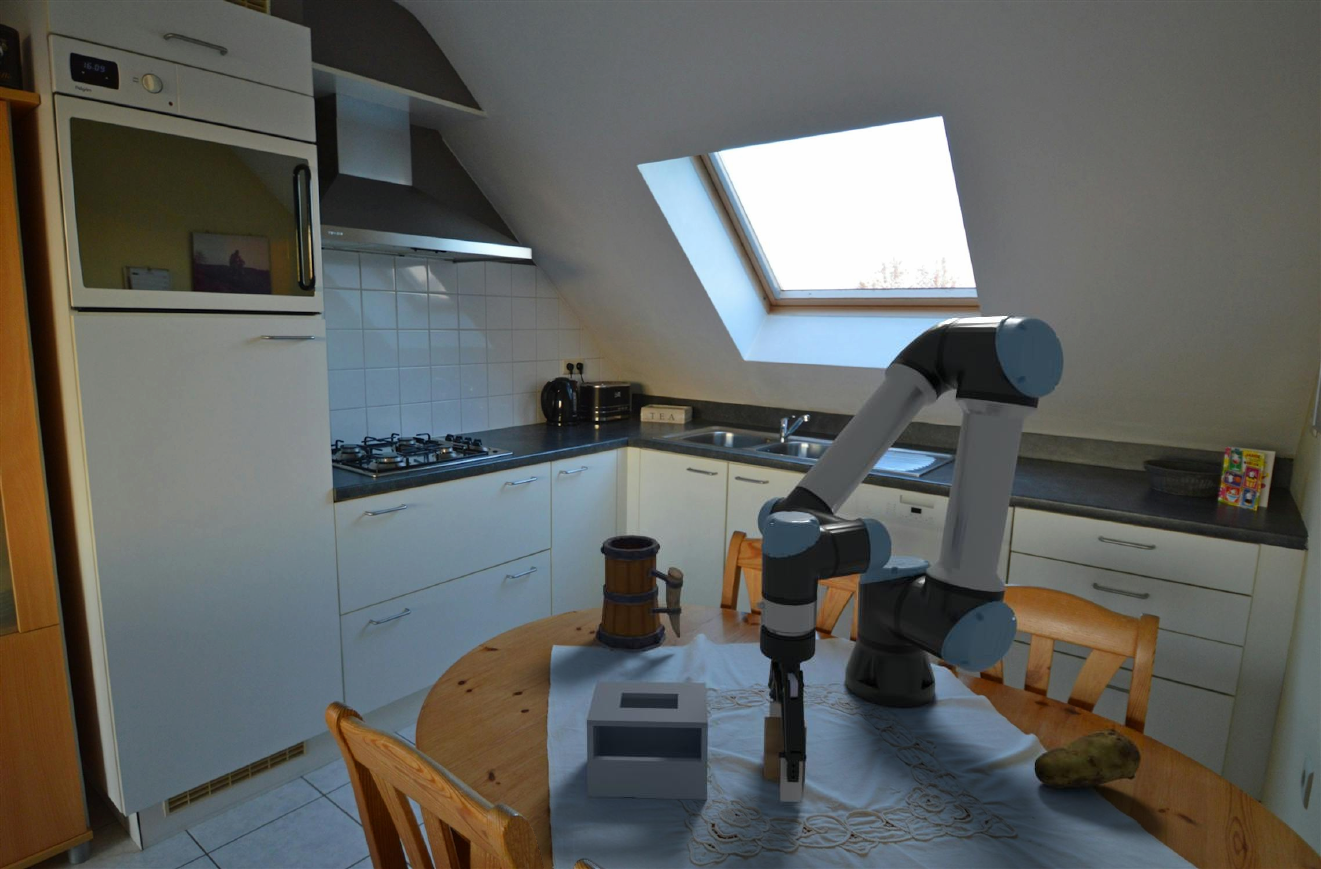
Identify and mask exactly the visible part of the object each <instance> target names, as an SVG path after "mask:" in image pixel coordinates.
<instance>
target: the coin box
mask: <svg viewBox="0 0 1321 869" xmlns="http://www.w3.org/2000/svg"><path fill="white" fill-rule="evenodd" d="M707 699H708V698H707V683H706V682H678V681H676V682H674V681H673V682H670V681H669V682H667V681H665V682H664V681H617V680H615V681H614V680H611V681H610V680H597V681H596V683H595V687H594V690H593V694H592V699H591V702H590V706H589V710H588V714H587V717H586V756H587V757H586V762H587V765H586V766H587V769H586V770H587V771H586V773H587V777H586V778H587V780H586V781H587V797H588V798H618V797H635V798H634V799H661V800H663V799H665V800H708V753H709V752H708V751H709V750H708V748H709V747H708V744H709V742H708V739H709V719H708V717H709V716H708V702H707V701H708V700H707Z"/></svg>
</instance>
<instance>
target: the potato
mask: <svg viewBox="0 0 1321 869" xmlns="http://www.w3.org/2000/svg"><path fill="white" fill-rule="evenodd" d="M1141 758H1142V757H1141V753H1140V750H1139V748H1138V747H1137V745H1136V744H1135V742H1133V741H1132V740H1131V739H1130V738H1128V737H1126V736H1124V735H1123V734H1120V733H1118V732H1116V731H1113V730H1110V729H1109V730H1107V729H1104V730H1103V729H1099V730H1097V731H1093V732H1091V733H1088V734H1086V735H1085V734H1084V735H1083V736H1081V737H1078V738H1076V739H1074V740H1072V741H1070V742H1069V743H1067V744H1065V745H1063V746H1059V747H1055V748H1052V749H1050V750H1048V751H1046V752H1044V753H1042V754H1041V755H1039V756H1038V757H1037V758H1036V759H1035V761H1034V768H1033V769H1034V774H1035V776H1036V778H1037V779H1038V780H1039V781H1040V782H1041V783H1042V784H1044V785H1045V786H1048V787H1052V788H1055V789H1062V788H1065V787H1069V788H1070V787H1071V788H1083V789H1084V788H1088V787H1096V786H1100V785H1103V784H1107V783H1109V782H1114V781H1117V780H1123V779H1127V780H1131V781H1132V780H1134V779H1135V778H1136V776H1135V774H1136V773H1137V772H1138V769H1139V767H1140V764H1141V760H1142V759H1141Z"/></svg>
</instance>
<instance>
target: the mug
mask: <svg viewBox="0 0 1321 869" xmlns="http://www.w3.org/2000/svg"><path fill="white" fill-rule="evenodd" d="M660 549H661V545H660V543H659V542H658V541H657V539H656V538H653V537H650V536H646V535H638V534H637V535H636V534H626V535H617V536H613V537H612V536H611V537H608V538H607V539H606V540H603V542H602V546H601V547H600V549H599V550H600V553H601V554H602V555H604V584H603V585H602V596H603V602H602V612H601V622H600V623H599V624H598V630H596V632H595V639H596V642H597V645H599V646H600V647H603V648H605V649H607V650H609V651H614V652H620V651H621V652H620V653H627V654H628V653H629V654H630V653H637V652H648V651H650V650H653V649H655V648H657V647H660V646H661V645H662V644H663V643H664V642H665V640H666V639H667V634H666V633H665V631H666V626H665V625H664V624H662V622H661V618H660V614H667V615H668V618H669V622H670V625H671V627H672V631H673V632H674V634H675V636H676V638H678V639H680V638H681V614H682V613H683V611H682V606H681V593H682V587H683V586H684V576H685V575H684V573H683V572H682V571H681V570H680V569H678V568H677V567H674V566H673V567H671V566H670V567H668V570H667V574H666V573H663V572H661V571H659V569H657V555H658V554H659V551H660ZM657 579H660V580H661V581H663V582H665V603H666V607H664V606H663V607H660V606H659V598H658V596H659V585H658V584H657Z"/></svg>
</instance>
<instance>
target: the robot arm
mask: <svg viewBox="0 0 1321 869" xmlns="http://www.w3.org/2000/svg"><path fill="white" fill-rule="evenodd" d="M1063 352H1064V351H1063V347H1062V344H1061V341H1060V339H1059V338H1058V337H1057V334H1056V332H1055V330H1054V328H1052V326H1050V325H1049V323H1047V322H1045V321H1044V320H1042V319H1040V318H1037V317H1030V316H1019V315H1017V316H1014V315H1007V316H988V317H987V316H985V317H983V316H982V317H966V316H965V317H953V318H949V319H947V320H943V321H941V322H938V323H936V324H935V325H933V326H931V327H929V328H928V329H927V330H925V331H923V332H922V333H921V334H920V335H918V336H916V338H914V339H913V340H912V341H911V342H909V344H907V345H906V346H905V347H904V348H903V349H902V350H901V351H900V352H899V353H897V356H895V358H894V359H893V360H891V363H889V365H888V366H887V367H886V369H885V370H884V377H885V379H884V380H883V381H882V382H881V383H880V385H879V386H878V388H876V390H875V391H874V392H873V393H872V394H871V396H870V397H869V398H868V399H867V400H866V402H865V403H864V404H863V405H862V407H860V409H859V410H858V411H857V413H856V414H854V416H853V417H852V419H851V420H850V421H849V422H848V423H847V425H846V426H845V427H844V428H843V429H842V430H841V432H840V433H839V434H838V435H837V436H836V437H835V438H834V440H833V442H831V443H830V444H829V446H828V447H827V449H825V451H824V452H823V453H822V454H821V455H820V457H819V458H817V461H816V462H815V463H814V464H813V465H812V466H811V468H810V469H809V470H808V471H807V472H806V473H805V475H804V476H803V477H802V478H801V479H800V481H798V483H797V484H796V485H795V487H794V488H793V489H792V490H791V491H790V493H788V495H787V496H786V497H784V496H782V497H779V496H778V497H776V496H775V497H773V498H771V499H768V500H767V501H766V502H764V504H763V505H762V506H761V508H760V510H759V512H758V516H757V527H758V531H759V533H760V534H761V539H762V540H761V545H760V548H761V549H760V550H761V600H762V601H757V602H756V608H757V609H758V610H760V622H761V626H760V627H759V629H760V630H759V649H760V652H761V655H763V656H764V657H766V658H768V659H769V660H770V664H769V665H770V668H769V676H768V682H767V687H768V689H769V693H768V696H769V698H770V700H769V708H768V709H769V712H768V713H769V714H768V715H769V716H768V717H781V722H782V739H783V752H778V758H781V780H780V781H779V782H780V783H779V800H780V802H789V803H790V802H792V803H793V802H795V803H802V793H803V792H802V791H803V781H802V768H803V762H806V761H807V748H806V749H805V725H804V720H805V707H804V706H805V705H804V697H805V696H804V688H805V682H804V672H803V669H801V664H802V663H804V662H807V661H809V660H811V659H812V658H813V657H815V654H816V635H817V634H816V633H817V632H816V629H815V627H816V626H817V617H818V615H817V614H818V589H819V587H818V586H819V581H824V580H825V581H826V580H830V579H834V578H835V579H836V578H840V577H847V576H854V575H859V579H858V582H857V584H858V589H857V590H858V592H857V596H858V597H857V632H856V634H857V635H856V642H855V643H854V647H853V648H852V652H851V654H850V657H849V658H848V662H847V664H846V667H845V672H844V673H845V674H844V675H845V676H844V678H845V679H844V683H845V685H846V687H847V688H848V690H850V692H852V693H853V694H854V695H856V696H858V697H859V698H861V699H863V700H866V701H869V702H871V703H875V704H878V705H883V706H888V707H896V708H910V707H917V706H922V705H925V704H927V703H929V702H930V701H932V700H933V699H934V697H935V694H936V677H935V673H934V671H933V668H932V664H931V660H930V657H929V654H930V655H932V656H934V657H936V658H938V659H940V660H941V661H943V662H944V663H945V664H947V665H949V666H953V667H957V668H959V669H962V670H963V671H966V672H970V673H979V672H984V671H987V670H989V669H991V668H992V667H994V666H995V665H997V664H998V663H999V662H1000V660H1002V659H1003V658H1004V657H1005V656H1006V655H1007V654H1008V652H1009V650H1010V649H1011V647H1012V646H1013V642H1014V641H1015V638H1016V634H1017V630H1018V629H1017V628H1018V621H1017V620H1018V619H1017V617H1016V616H1015V615H1016V613H1015V611H1014V610H1013V609H1012V607H1011V606H1009V604H1008V603H1006V602H1004V599H1005V593H1006V585H1005V584H1004V582H1003V580H1001V578H1000V577H999V574H998V571H999V565H1000V557H1001V552H1002V547H1003V541H1004V536H1005V531H1006V530H1005V529H1006V525H1007V518H1008V513H1009V506H1010V502H1011V497H1012V496H1011V495H1012V491H1013V483H1014V479H1015V473H1016V467H1017V463H1018V455H1019V450H1020V445H1021V439H1022V435H1023V434H1022V432H1023V428H1024V421H1026V419H1027V418H1028V417H1029V416H1031V415H1033V414H1034V413H1036V412H1037V411H1038V406H1039V401H1040V399H1041V398H1044V397H1046V396H1048V395H1050V394H1051V393H1052V392H1053V391H1055V389H1056V386H1058V385H1059V384H1060V381H1061V379H1062V377H1063V373H1064V362H1065V361H1064V353H1063ZM953 390H956V392H955V397H954V398H955V400H954V401H955V402H956V403H957V405H958V406H959V407H960V408H961V410H962V419H961V423H960V424H961V425H960V430H959V436H958V443H957V448H956V454H955V455H956V456H955V460H954V467H953V473H952V477H951V478H952V479H951V484H950V490H949V497H948V502H947V506H946V514H945V519H944V525H943V530H942V535H941V536H942V537H941V543H940V547H939V549H940V550H939V555H938V560H937V561H936V563H934V564H932V565H931V562H930V561H928V560H926V559H924V558H920V557H916V556H908V555H906V556H905V555H904V556H903V555H892V545H893V544H892V539H891V535H890V533H889V530H888V529H887V527H886V526H885V525H884V524H883V523H882V522H881V521H879V520H878V519H876V518H875V519H874V518H862V517H858V518H855V519H847V518H843V517H840V516H837V515H836V514H837V513H838V512H839V510H840V509H841V508H842V507H843V506H844V504H845V503H846V502H847V500H848V499H849V498H850V497H851V496H852V494H854V492H856V490H857V488H858V487H859V486H860V485H861V483H862V482H863V481H864V480H865V478H866V477H867V476H868V475H869V474H870V472H871V471H872V470H873V469H874V468H875V466H876V465H877V464H878V463H879V461H880V460H881V459H882V458H883V457H884V455H885V454H887V452H888V450H889V449H891V446H893V445H894V442H896V441H897V439H898V438H899V437H900V435H901V434H902V433H903V432H904V431H905V429H906V428H907V427H908V426H909V425H910V424H911V422H912V421H913V420H914V418H915V417H916V416H917V415H918V414H919V412H920V411H921V410H922V409H923V407H931V406H933V405H935V403H936V402H937V401H938V399H939V398H940V397H941V396H942V395H943V394H945V393H947V392H950V391H953Z"/></svg>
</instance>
